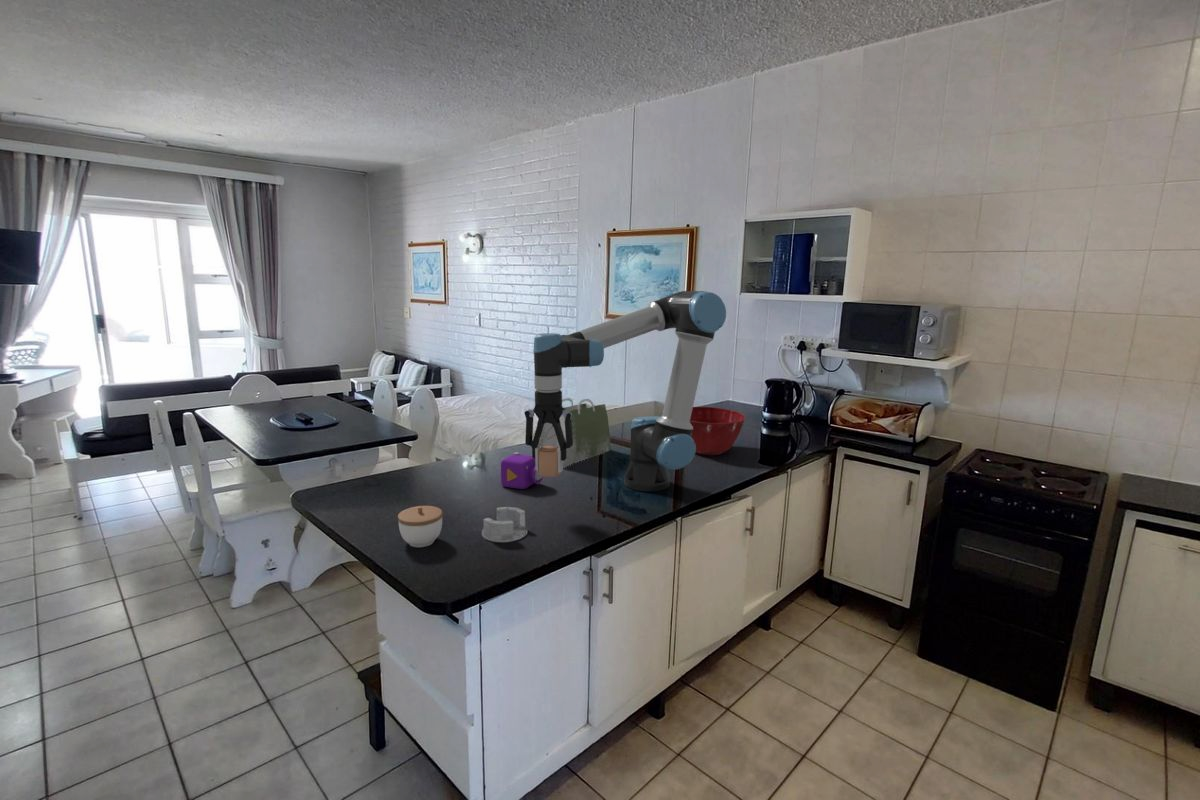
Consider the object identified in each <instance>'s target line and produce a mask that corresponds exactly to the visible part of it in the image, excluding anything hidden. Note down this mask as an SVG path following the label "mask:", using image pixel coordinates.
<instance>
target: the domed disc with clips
mask: <svg viewBox="0 0 1200 800" xmlns="http://www.w3.org/2000/svg"><path fill="white" fill-rule="evenodd" d="M527 535H528V527H527V526H526V511H525V510H523V509H521V508H519V507H514V506H513V507H511V506H501V507H500V506H499V507H496V520H494V519H492V518H491V517H486V518H483V528H482V530H481V537H482V538H483V539H484V540H486V541H488V542H491V543H497V544H499V543H500V544H505V543H513V542H516V541H517V542H518V541H520V540H522V539H524V538H525V537H526V536H527Z"/></svg>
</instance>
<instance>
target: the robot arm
mask: <svg viewBox="0 0 1200 800" xmlns="http://www.w3.org/2000/svg"><path fill="white" fill-rule="evenodd" d="M726 318H727V308H726V305H725V303H724V301H723V299H722V298H721V297H720V296H719V295H718V294H717V293H714V292H711V291H707V290H706V291H705V290H699V291H698V290H697V291H696V290H695V291H693V290H691V291H690V290H682V291H678V292H677V291H676V292H675V293H672V294H669V295H667V296H664V297H662V298H659V299H657V300H654V301H652V302H650V303H649V304H648V306H647V307H644V308H641V309H637V310H635V311H632V312H630V313H627V314H624V315H621V316H618V317H615V318H612V319H610V320H609V319H608V320H607V321H604V322H601V323H599V324H595V325H592V326H589V327H587V328H585V329H582V330H579V331H576V332H573V333H569V334H560V333H557V332H556V333H553V332H551V333H549V332H548V333H547V332H545V333H544V332H542V333H537V334H536V335H535V336H534V338H533V363H534V365H533V366H534V376H533V377H534V389H535V391H534V407H533V408H532V409H530V408H529V409H527V410H525V411H524V417H525V439H524V440H525V445H526V446H530V447H531V453H532V454H531V456H532V457H533V458H535V467H536V471H538V470H539V449H540V448H541V446H539V444H540V438H541V434H542V430H543V427H544V424H545V423H550V424H552V426H553V427H554V430H555V433H556V436H557V439H558V443H559V446H560V448H559V449H558V472H559V473H560V474H561V473H562V472H563V471H564V469H563V461H564V460H566V449H567V448H570V447H571V446H572V445H573V436H572V421H571V420H572V416H573V413H572V412H567V411H564V409H563V408H564V407H563V402H562V399H563V391H562V390H561V389H563V376H562V375H563V368H585V367H588V368H591V367H596V366H597V367H599V366H600V365H602V363H603V362H604V358H605V350H604V349H607V348H609V347H611V346H614V345H617V344H620V343H624V342H625V341H628V340H631V339H635V338H636V337H639V336H642V335H645V334H648V333H651V332H653V331H657V332H662V331H663V332H664V331H665V330H670V329H675V331H674V333H675V336H677V338H678V340H677V341H678V342H677V345H676V349H675V355H674V360H673V363H672V364H673V365H672V369H671V374H670V378H669V382H668V388H667V392H666V395H665V401H664V405H663V411H662V415H661V416H659V415H657V416H656V415H655V416H653V415H652V416H651V415H650V416H639V417H637V416H636V417H634V418H633V419H632V421H631V426H630V457H629V458H630V461H629V464H628V466H627V469H626V471H625V473H624V474H625V475H624V481H623V482H624V486H626V487H627V488H629V489H631V490H635V491H638V492H639V491H640V492H661V491H663V490H666V489H668V488H669V487H670V480H671V478H670V475H669V472H668V470H675V471H676V470H681V469H684V468H685V467H686V466H688V465H689V464H690V463H691V461H693V459H694V457H695V455H696V453H695V451H696V445H695V443H694V440H693V439H692V438H691V436H692V432H693V426H692V425H691V423H690V418H691V413H692V409H693V407H694V403H695V400H696V394H697V390H698V386H699V380H700V378H701V373H702V367H703V363H704V359H705V354H706V349H707V346H708V344H709V343H712V341H714V337H715V333H716V332H717V331H719V330H720V329H721V328H722V327H723V326H724V324H725V322H726ZM561 415H563V416H564V419H565V434H566V441H565V438H564V434H563V431H562V428H561V425H560V424H561V423H560V419H559V418H560V417H561ZM534 416H536V417H537V418H538V420H537V423H536V428H535V431H534ZM533 433H534V435H533Z"/></svg>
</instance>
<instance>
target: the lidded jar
mask: <svg viewBox="0 0 1200 800" xmlns="http://www.w3.org/2000/svg"><path fill="white" fill-rule="evenodd" d="M397 520H398V528H399V532H400V536H401V538H402V539H403V540H404V541H405V543H407V544H408V545H409V546H410V547H413V548H424V547H428V546H430V545H432V544H433V543H434V542H435V540H436V539H437V538H439V536H440V534H441V531H442V526H443V510H442V509H441V508H440V507H437V506H434V505H418V506H417V505H416V506H411V507H409V508H406V509H404V510H401V511H400V512H399V513H398V514H397Z"/></svg>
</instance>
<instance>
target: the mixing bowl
mask: <svg viewBox="0 0 1200 800" xmlns="http://www.w3.org/2000/svg"><path fill="white" fill-rule="evenodd" d="M745 420H746V415H745V414H743V413H742V412H739V411H738V410H737V411H736V410H733V409H727V408H724V407H723V408H721V407H714V406H713V407H712V406H693V409H692V413H691V418H690V423H691V425H692V426H693V432H692V436H691V438H692V439H693V440H694V443H695V445H696V451H695V454H697V453H698V455H703V456H704V455H705V456H719V455H723V454H724V453H726V452H727V451H729V450H730V449H731V448H732V447H733V445H734V444H735V442H736V440H737V438H738V437H739V434H740V433H741V431H742V427H743V425H744V422H745Z"/></svg>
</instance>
